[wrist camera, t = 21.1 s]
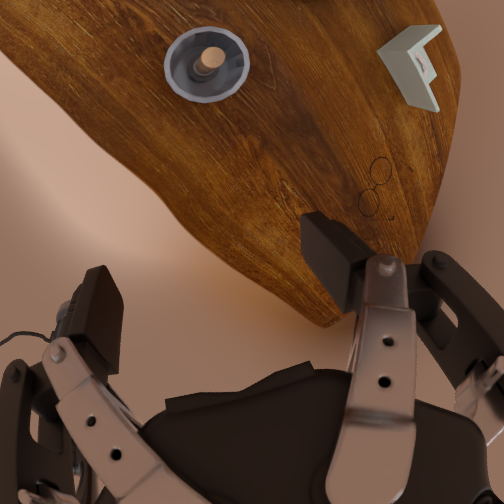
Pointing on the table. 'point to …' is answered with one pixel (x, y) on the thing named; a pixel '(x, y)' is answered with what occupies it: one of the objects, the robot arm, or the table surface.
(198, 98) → the grey cup
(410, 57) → the l-shaped corner panel
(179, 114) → the table surface
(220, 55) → the cylinder with wooden handle
